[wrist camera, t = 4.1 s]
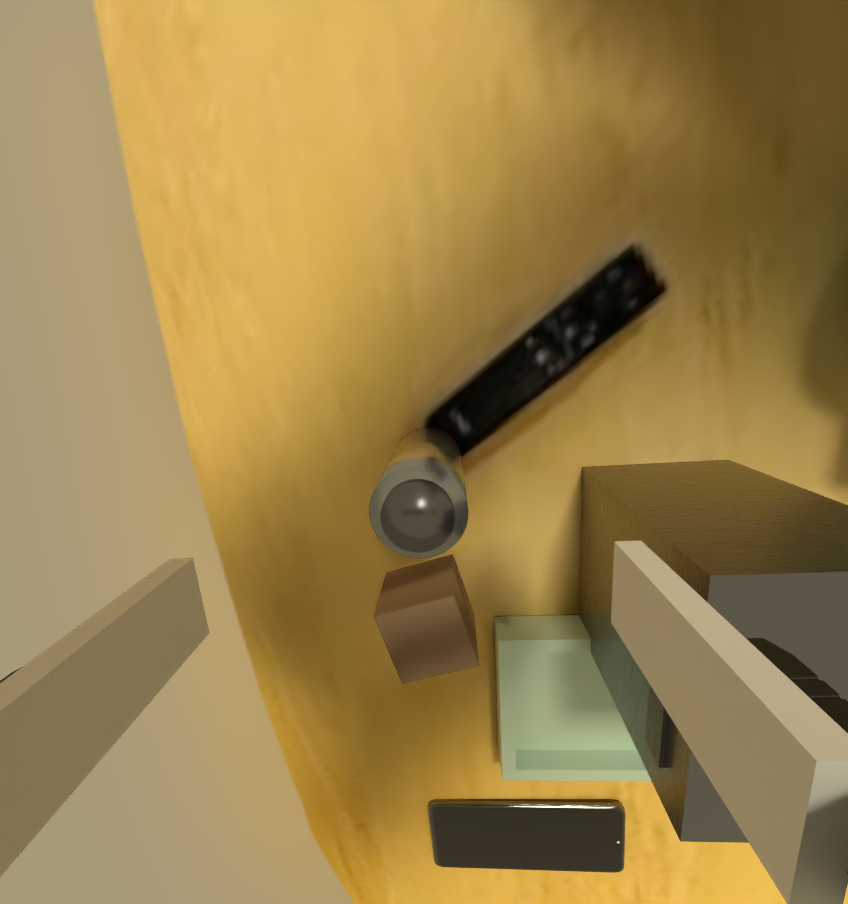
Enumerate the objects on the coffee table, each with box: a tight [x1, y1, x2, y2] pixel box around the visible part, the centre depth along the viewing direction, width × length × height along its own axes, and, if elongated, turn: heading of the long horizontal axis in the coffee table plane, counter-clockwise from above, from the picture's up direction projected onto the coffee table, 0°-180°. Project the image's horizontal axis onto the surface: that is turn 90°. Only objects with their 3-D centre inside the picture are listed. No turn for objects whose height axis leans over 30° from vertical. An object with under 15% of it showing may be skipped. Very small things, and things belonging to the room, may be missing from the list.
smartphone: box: [428, 799, 625, 872], centre depth 34 cm, size 7×1×16 cm
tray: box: [494, 615, 651, 781], centre depth 29 cm, size 12×12×2 cm
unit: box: [579, 460, 848, 843], centre depth 21 cm, size 12×10×13 cm
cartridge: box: [369, 427, 468, 558], centre depth 22 cm, size 4×4×10 cm
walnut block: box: [374, 554, 479, 684], centre depth 26 cm, size 5×5×5 cm
